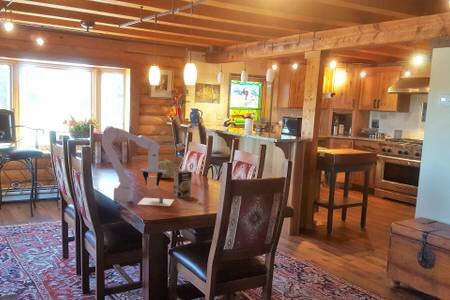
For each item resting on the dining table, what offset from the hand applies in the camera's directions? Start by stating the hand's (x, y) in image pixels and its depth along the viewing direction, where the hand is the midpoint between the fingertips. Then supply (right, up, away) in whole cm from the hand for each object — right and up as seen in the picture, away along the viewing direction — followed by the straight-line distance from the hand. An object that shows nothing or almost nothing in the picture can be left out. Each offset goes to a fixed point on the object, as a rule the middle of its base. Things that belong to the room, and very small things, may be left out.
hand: (152, 185), depth 247 cm
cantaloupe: (-4, -2, +82) cm, 82 cm away
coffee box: (+15, -9, +17) cm, 25 cm away
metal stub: (+6, -9, -6) cm, 12 cm away
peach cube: (0, -1, 0) cm, 2 cm away
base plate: (+3, -10, -4) cm, 11 cm away
